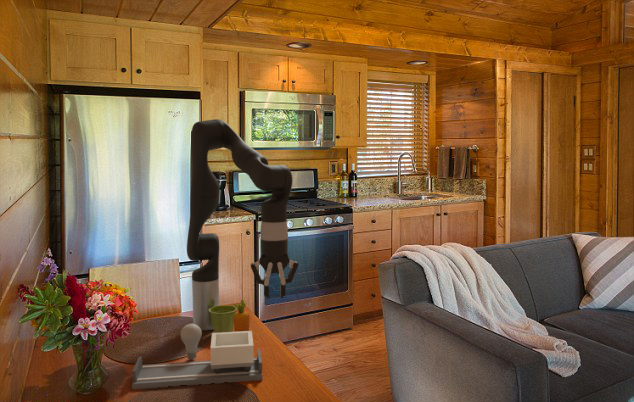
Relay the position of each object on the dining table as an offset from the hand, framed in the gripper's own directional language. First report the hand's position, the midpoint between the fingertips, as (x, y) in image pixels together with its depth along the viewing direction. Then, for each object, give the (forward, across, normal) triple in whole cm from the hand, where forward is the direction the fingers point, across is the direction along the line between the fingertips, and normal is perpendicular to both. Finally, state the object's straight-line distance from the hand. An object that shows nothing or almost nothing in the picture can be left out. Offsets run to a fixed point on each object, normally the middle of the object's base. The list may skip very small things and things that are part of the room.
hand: (274, 297), depth 145 cm
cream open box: (+19, +12, 0) cm, 23 cm away
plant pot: (+21, +15, -32) cm, 41 cm away
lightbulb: (+21, +24, -11) cm, 34 cm away
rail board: (+21, +21, 0) cm, 30 cm away
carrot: (+21, +9, -19) cm, 30 cm away
